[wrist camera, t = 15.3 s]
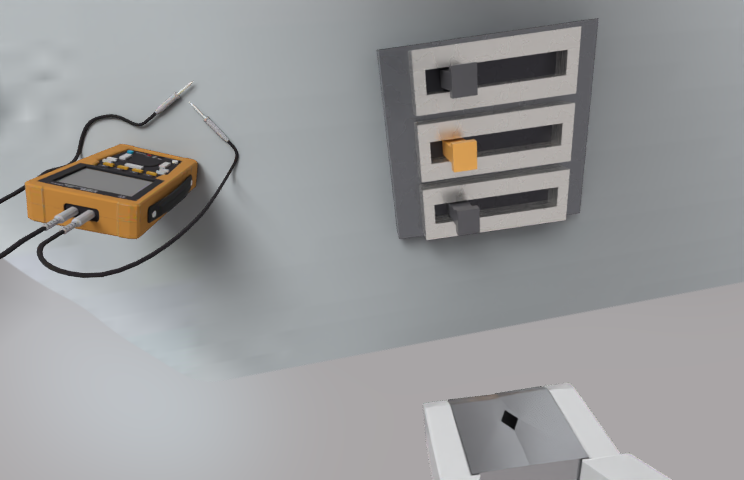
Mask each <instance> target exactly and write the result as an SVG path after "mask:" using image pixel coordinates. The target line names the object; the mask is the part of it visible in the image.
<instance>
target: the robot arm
mask: <svg viewBox="0 0 744 480" xmlns="http://www.w3.org/2000/svg"><path fill="white" fill-rule="evenodd" d="M423 414H424V424H425V435H426V444H427V451H428V457H429V464H430V470H431V475H432V480H672V479H671V478H669V477H668V476H666V475H664V474H663V473H661V472H659V471H658V470H656V469H655V468H653V467H651V466H650V465H648V464H646V463H645V462H643V461H641V460H640V459H638V458H637V457H635V456H634V455H632V454H630V453H625V454H621V453H620V451H619V450H618V449H617V447H616V446H615V444H614V443H613V442H612V440H611V439H610V437H609V436H608V435H607V433H606V432H605V430H604V429H603V427H602V426H601V424H600V423H599V422H598V420H597V419H596V417H595V416H594V414H593V413H592V412H591V410H590V409H589V408H588V406H587V404H586V403H585V402H584V400H583V399H582V398H581V396H580V394H579V393H578V392H577V390H576V389H575V388H574V386H573V385H571V384H570V383H562V384H555V385H548V386H544V387H541V386H540V387H533V388H527V389H521V390H514V391H508V392H502V393H495V394H492V395H484V396H475V397H468V398H458V399H450V400H448V401H446V400H445V401H436V402H428V403H423Z"/></svg>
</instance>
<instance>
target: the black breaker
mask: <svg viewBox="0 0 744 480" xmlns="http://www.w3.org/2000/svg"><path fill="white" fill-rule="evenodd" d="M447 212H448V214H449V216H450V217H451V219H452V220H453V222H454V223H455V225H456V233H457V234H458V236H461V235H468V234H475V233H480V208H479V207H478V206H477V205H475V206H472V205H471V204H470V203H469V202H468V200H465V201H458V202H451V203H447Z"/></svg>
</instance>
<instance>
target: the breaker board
mask: <svg viewBox="0 0 744 480" xmlns="http://www.w3.org/2000/svg"><path fill="white" fill-rule="evenodd" d="M597 27H598V18H597V19H590V20H583V21H576V22H569V23H562V24H555V25H548V26H541V27H534V28H527V29H520V30H513V31H506V32H499V33H492V34H485V35H478V36H471V37H464V38H457V39H450V40H443V41H436V42H430V43H423V44H416V45H409V46H402V47H395V48H388V49H381V50H377V56H378V65H379V74H380V83H381V91H382V100H383V109H384V118H385V127H386V136H387V145H388V153H389V162H390V171H391V180H392V189H393V198H394V207H395V216H396V224H397V232H398V235H399V239H403V238H410V237H417V236H425V238H426V240H432V239H438V238H445V237H452V236H458V234H457V233H456V225H455V223H454V222H453V220H452V219H451V217H450V216H449V214H448V212H447V203H451V202H458V201H465V200H468V202H469V203H470V204H471V205H472V206H475V205H477V206H478V207H479V208H480V232H487V231H494V230H501V229H508V228H515V227H521V226H528V225H535V224H542V223H549V222H556V221H563V220H566V215H570V214H577V213H580V205H581V194H582V184H583V173H584V163H585V152H586V142H587V132H588V121H589V111H590V100H591V90H592V79H593V69H594V59H595V48H596V38H597ZM470 62H477V87H478V95H475V96H468V97H461V98H454V99H452V98H450V90H447V89H444V88H441V82H440V70H446V69H449V65H456V64H463V63H470ZM456 138H463V139H465V140H471V139H475V140H476V141H477V169H475V170H468V171H461V172H453V171H452V164H451V162H450V161H449V160H448V159H447V158H446V157H445V156H444V155H443V147H442V140H449V139H456Z"/></svg>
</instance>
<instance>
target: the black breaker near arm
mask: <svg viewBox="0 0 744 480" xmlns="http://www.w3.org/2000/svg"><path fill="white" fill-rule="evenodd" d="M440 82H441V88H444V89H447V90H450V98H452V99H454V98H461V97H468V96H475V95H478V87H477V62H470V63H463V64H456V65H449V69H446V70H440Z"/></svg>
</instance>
